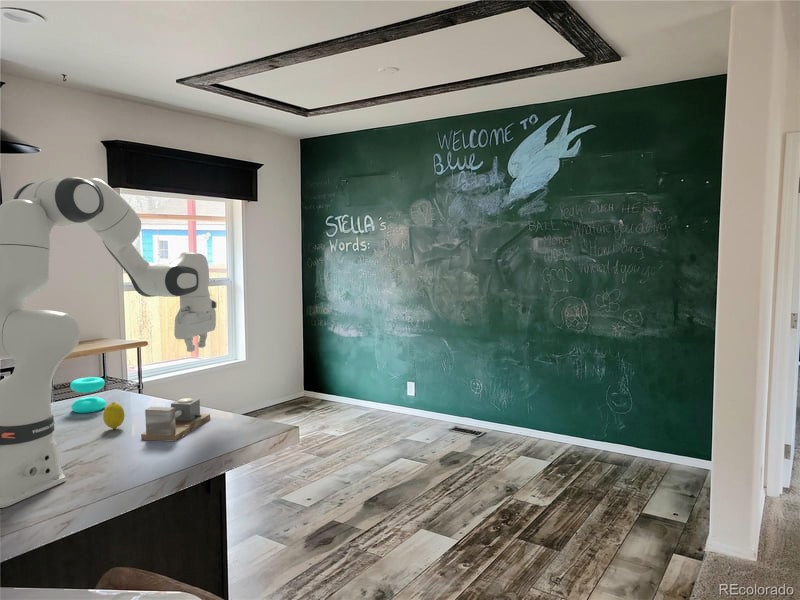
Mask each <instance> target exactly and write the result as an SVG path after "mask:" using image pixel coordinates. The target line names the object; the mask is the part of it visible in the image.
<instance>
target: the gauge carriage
mask: <svg viewBox="0 0 800 600" xmlns="http://www.w3.org/2000/svg"><path fill="white" fill-rule="evenodd" d="M200 400H201V399H200V398H189V397H188V398H187V397H186V398H179V399H178V400H175V401H173V402H172V403H170V407H172V408H175V420H180V421H191V420H193V419H195V418H196V417H199V418H201V417H202V415H200V414H201V402H200Z"/></svg>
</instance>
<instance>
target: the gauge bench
mask: <svg viewBox="0 0 800 600" xmlns="http://www.w3.org/2000/svg"><path fill="white" fill-rule="evenodd" d="M144 413H145V431H144V432H142V433H141V436H140V437H141V438H140V440H141V439H144V440H143V441H145V440H146V441H161V440H173V441H172V442H177V441H178V440H179V438H180V437H181V438H182V436H183V435H184V436H186V435H187V434H189V433H190V432H192V431H193V430H192V429H194V428H195V429H196V427H197V426H198V427H200V426H201V425H203V424H205V423H206V422H208V421H209V420H210V419H211V413H200V415H202V417H201V418H199V417H196V418H195V419H193V420H191V421H180V420H175V408H172V407H171V406H169V407H167V406H164V407H163V406H150V407H148V408H145V410H144ZM207 420H208V421H207ZM202 423H203V424H202ZM199 425H200V426H199ZM198 427H197V428H198ZM195 429H194V430H195ZM191 430H192V431H191ZM189 431H190V432H189ZM188 432H189V433H188ZM186 433H187V434H186ZM185 434H186V435H185ZM184 436H183V437H184ZM181 438H180V439H181ZM177 439H178V440H177Z"/></svg>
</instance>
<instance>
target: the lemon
mask: <svg viewBox="0 0 800 600" xmlns="http://www.w3.org/2000/svg"><path fill="white" fill-rule="evenodd" d="M102 417H103V422H104V424H105V425H106V426H107V427H108V428H111V429H113V430H117V428H118V427H120V426H121V425H122V424H123V422H124V420H125V411H124V408H123V407H122V405H120V404H119V403H116V402H114V401H113V402H111V403H110V404H108V405H106V406H105V407H104V411H103V414H102Z"/></svg>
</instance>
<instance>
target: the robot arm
mask: <svg viewBox="0 0 800 600" xmlns="http://www.w3.org/2000/svg"><path fill="white" fill-rule="evenodd" d="M77 223H78V224H79V223H81V224H83V223H86V224H87V225H88V226H89V227H90V228H91V229H92V230H93V231H94V232H95V233H96V234H97V235H98V236H99V237H100V238H101V240H102V242H103V245H104V247H105V249H107V251H108V252H109V253H110V255H111V256H112V257H113V259H115V261H116V262H117V263H118V264H119V265H120V267H121V268H122V269H123V271H124V272H125V273H126V274H127V275H128V278H129V279H130V281H131V284H132V286H133V288H134V290H135V292H137V293H138V294H139V295H141V296H142V297H145V298H146V297H148V298H151V297H169V298H170V297H171V298H176V297H177V298H178V297H179V310H178V312H177V314H175V315H176V316H174V329H173V332H174V334H173V335H174V337H175V339H176V340H183V341H184V343H185V345H186V351H187V352H188V353H189V352H190V353H193V352H194V351H195V350H196V348H195V345H194V343H193V341H194V337H198V336H199V341H198V342H197V347H198V348H202V349H203V348H205V347H206V341H207V337H208V333H209V332H213V331H215V329H216V325H217V313H216V312H217V311H216V309H217V306H218V305H217V301H215V300H213V299H211V295H210V290H209V284H210V269H209V263H208V259H207V257H206V256H205V255H204V254H202V253H197V252H191V251H190V252H189V251H188V252H186V251H185V252H182V253H180V255H179V257H177V258H176V259H175V260H174V261H172V262H169V263H167V264H165V263H164V264H160V263H153V262H149V261H147V260H146V259H145V258H144V257H143V255H141V254H140V252H139V251H138V250H137V249H136V247H135V246H134V244H133V243H134V242H135V241H136V240H137V239H138V237H139V235H140V233H141V230H142V221H141V219H140V216H139V215H138V213H137V212H136V211H135V210H134V208H133V207H132V206H131V205H130V203H128V202H127V201H126V200H125V199H124V197H122V195H120V194H119V193H118V192H117V191H116V190H115V189H113V188H112V187H111V186H110V185H109V184H107V183H106V182H105V181H103V180H102V179H100V178H97V177H94V178H93V177H92V178H90V177H89V178H87V179H85V178H82V177H81V178H80V177H75V176H74V177H73V176H72V177H71V176H70V177H65V178H49V179H44V180H41V181H37V182H31V183H28V184H25V185H24V186H22V187H21V188H19V189H18V190H17V191H16V193H15V194H14V195H13V199H10V200H6V201H4V202H3V203H1V204H0V360H14V369H13V371H12V374H9V375H7V376H5V377H4V378H2V379H0V509H1V508H7V507H10V506H12V505H14V504H17V503H19V502H21V501H23V500H26V499H28V498H30V497H33V496H35V495H37V494H39V493H41V492H44V491H46V490H49V489H50V488H53V487H55V486H57V485H59V484H62V483H64V482H66V481H67V479H66V475H65V474H64V471H63V470H62V466H61V459H60V452H59V448H58V444H57V442H56V439H55V437H54V431H55V423H56V422H55V419H54V415H53V413H52V398H51V397H52V394H51V393H52V382H53V377H54V374H55V373H56V371H57V369H58V367H59V366H60V364H61V363H62V361H63V360H65V358H67V357H68V356H70V354H72V353H73V352H74V351H75V350H76V348H77V347H78V345H79V343H80V340H81V328H80V325H79V323H78V321H77V320H76V318H75V317H74V316H73V315H72V314H70V313H67V312H63V311H56V310H51V309H24V307H25V304H26V302H27V300H28V299H29V298H30V297H31V296H32V295H34V294H35V293H38V292H40V291H41V290H43V289H44V288H45V287H46V286H47V284H48V282H49V280H50V279H49V277H50V250H51V249H50V248H51V247H50V246H51V245H50V244H51V241H50V234H51V231H52V229H53V228H54V226H58V227H63V226H70V225H74V224H77Z"/></svg>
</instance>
